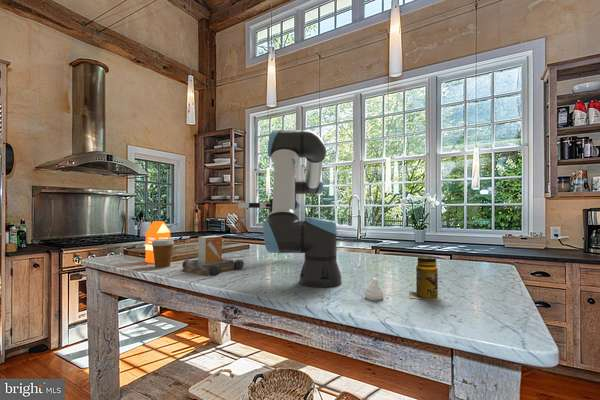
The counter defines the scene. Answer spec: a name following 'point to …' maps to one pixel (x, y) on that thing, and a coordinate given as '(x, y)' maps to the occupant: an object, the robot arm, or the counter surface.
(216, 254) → the small box
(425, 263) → the condiment
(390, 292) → the counter surface
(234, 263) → the dark square tray
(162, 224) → the orange juice
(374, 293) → the garlic bulb
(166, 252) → the disposable coffee cup
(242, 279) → the counter surface
